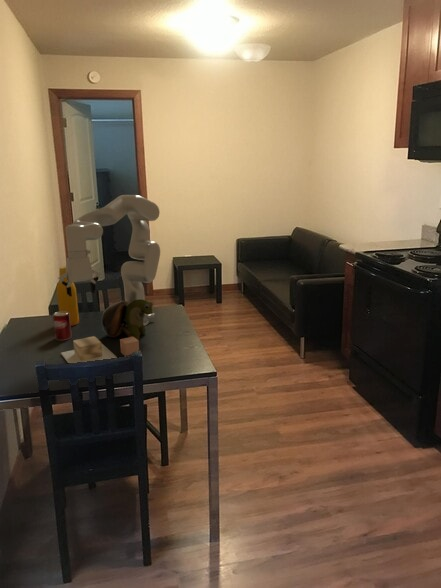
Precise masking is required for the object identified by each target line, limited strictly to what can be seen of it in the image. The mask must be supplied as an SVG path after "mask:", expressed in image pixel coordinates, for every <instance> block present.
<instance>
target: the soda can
mask: <svg viewBox="0 0 441 588" xmlns="http://www.w3.org/2000/svg"><path fill="white" fill-rule="evenodd" d="M52 319H53V320H52V321H53V329H54V337H55V340H57V341H62V342H63V341H68V340H70V339H71V338H72V335H73V334H72V326H71V324H70V314H69V313H68V312H66V311H61V312H59V311H56V312H54V313H53V315H52Z"/></svg>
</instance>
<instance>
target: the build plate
mask: <svg viewBox="0 0 441 588" xmlns="http://www.w3.org/2000/svg"><path fill="white" fill-rule="evenodd" d="M101 345H102V356H100V357H96V358H92V359H87V360H83V361H80V359H79V358H78V357H77V356H76V355H75V352H74V349H72V350H67V351H63V352H60V355H61V356H62V357H63V358H64V360H65V361H66V362H67V364H68V363H77V362H87V361H95V360H103V359H111V358H117V359H118V357H117V356H116V354H114V353H113V352H112V351H111V350H110V349H109V348H108V347H106V346H105V345H104V344H103V343H101Z"/></svg>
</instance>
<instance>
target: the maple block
mask: <svg viewBox="0 0 441 588" xmlns="http://www.w3.org/2000/svg"><path fill="white" fill-rule="evenodd" d="M72 342H73V350H74V352H75V355H76V356H77V357H78V358H79V359H80V361H83V360H87V359H92V358H96V357H100V356H102V345H101V344H102V341H101V340H99V338H97V337H96V336H95V335H93V336H88V337H83V338H79V339H74V340H73V341H72Z"/></svg>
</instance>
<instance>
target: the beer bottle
mask: <svg viewBox="0 0 441 588" xmlns="http://www.w3.org/2000/svg"><path fill="white" fill-rule="evenodd" d="M58 273H59V276H58V278H59V277H60V276H61V275H63V274H65V273H66V266H60V267H59V272H58ZM63 280H64V282H67V281H68V280H67V277H65V278H64V279H63ZM70 287H71V292H72V296H71V297H70V296H69V295H68V294H67V289H66V286H65V285H63V284H62V283H61V281H60V280H59V279H58V283H57V286H56V295H57V305H58V307H57V308H58V312H61V311H66V312H68V313H69V314H70V324H71V327H74V326H76V325H79V323H80V317H79V316H80V315H79V306H78V297H77V288H76V285H75V282H72V284H71V285H70Z"/></svg>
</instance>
